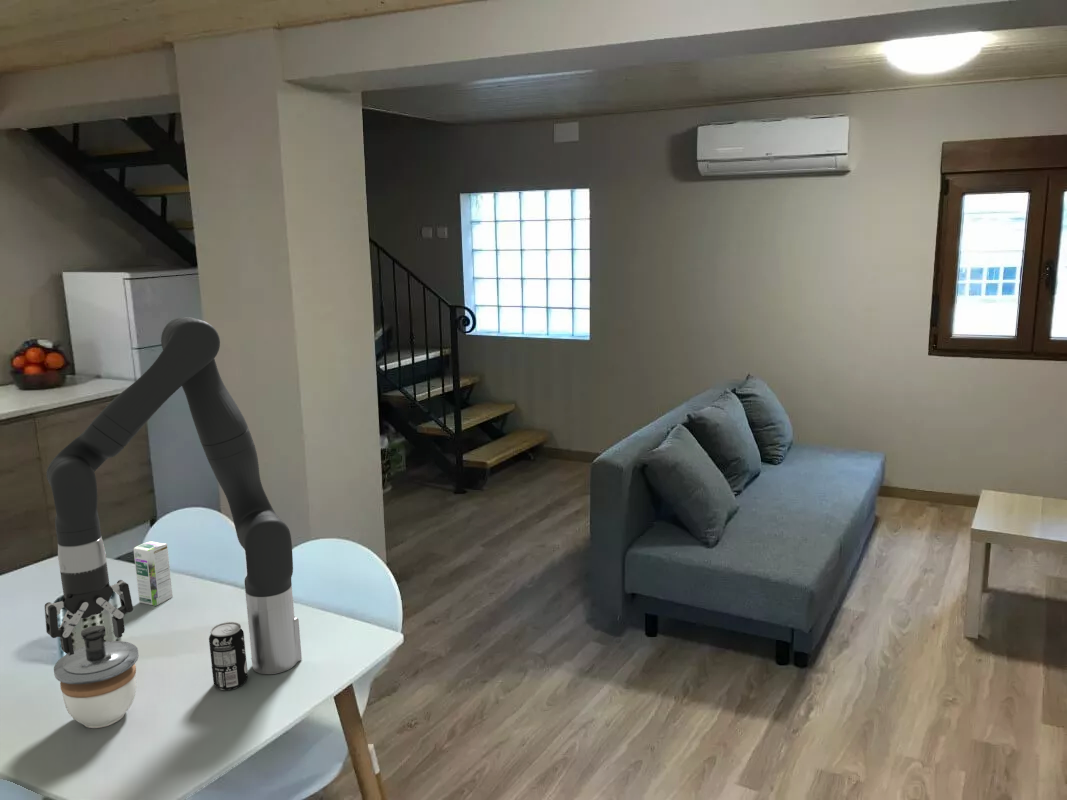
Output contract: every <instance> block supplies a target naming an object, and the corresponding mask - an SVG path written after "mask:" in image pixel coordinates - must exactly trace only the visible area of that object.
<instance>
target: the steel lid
mask: <svg viewBox="0 0 1067 800" xmlns="http://www.w3.org/2000/svg"><path fill="white" fill-rule="evenodd" d="M106 633H107V632H106V627H105V626H103V625H92V626H89V627H86V628H84V629H83V630H81V632H80V637H81V639H82V640H83V641H84V646H82V647H79V648H76V649H73V650H74V654H72V655H70V656H69V655H68V654H67V653H65V654H64V655H63V656H62V657H61V658H59V659H58V660H57V661H56V663H55V665H54V666H53V673H54V674H53V675H54V678H55V679H56V681H58V682H59V683H60V682H63V683H67V684H88V683H94V682H99V681H103V680H106V679H109V678H112V677H114V676H117V675H119V674H121V673H123V672H125V671H126V670H128V669H129V668H131V667H132V666H133V665H134V664H135V665H136V663H137V662H138V661H139V649H138V647H137V646H136V645H135V644H133V643H131V642H127V641H121V640H111V641H109V640H107V641H105V637H104V636H105V634H106Z"/></svg>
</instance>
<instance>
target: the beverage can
mask: <svg viewBox="0 0 1067 800" xmlns="http://www.w3.org/2000/svg"><path fill="white" fill-rule="evenodd" d="M208 643H209V651H210V652H209V653H210V660H211V672H212V680H213V685H214V686H215V687H216V688H218V689H219V690H221V691H232V690H235V689H238V688H241V687H242V686H243V685H244V684H245V683H246V681H247V680H248V679H249V677H248V676H249V675H248V664H247V654H246V644H245V643H246V642H245V632H244V630H243V629H242V625H241V624H240V623H238V622H234V621H227V622H221V623H219V624H216V625H215V626H213V627H211V629H210V635H209V637H208Z"/></svg>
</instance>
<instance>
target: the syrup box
mask: <svg viewBox="0 0 1067 800" xmlns="http://www.w3.org/2000/svg"><path fill="white" fill-rule="evenodd" d="M133 556H134V565H135V575H136V583H137V593H138V603H140V604H146V605H151V606H154V607H156V606H158V605H160V604H162V603H164V602H166V601H168V600H170V599H172V598H173V588H172V586H173V585H172V578H171V569H170V557H169V547H168V543H163V542H157V541H153V540H151V541H147V542H146V541H145V542H144V543H141V544H139V545H137V546H135V547H133Z"/></svg>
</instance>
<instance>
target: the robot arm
mask: <svg viewBox="0 0 1067 800" xmlns="http://www.w3.org/2000/svg"><path fill="white" fill-rule="evenodd" d="M160 342H161V343H160V345H161V348H162V350H161V352H160V354H159V355H158V357H157V358H156V359H155V361H154V362H153V363H152V364H151V366H149V368H148V369H147V370H146V371H145V372H144V373H143V374H142V375H141V376H140V377H139V378H138V379H136V380H135V381H134V382H133V383H132V384H131V385H130V386H128V387H127V388H125V389H124V390H123V391H122V392H120V393H119V394H118V395H116V396H115V397H114V398H113V399H112V400H111V401H110V402H109V403H108V404H107V405H106V406H105V407H104V408H103V409H102V411H100V413H99V414H98V415H97V416H96V418H94V419H93V421H91V423H90V424H89V425H88V426H87V428H86V429H85V430H84V431H83V432H82V433H81V434H80V435H78V436H77V437H76V438H74V439H73V440H72V441H71V442H70V443H68V445H66V446H65V447H64V448H63V449H61V450H60V452H58V454H57V455H56V456H55V457H54V458H53V459H52V460H51V461H50V463H49V464H48V467H47V469H46V479H47V481H48V484H49V486H50V487H51V492H52V497H53V503H54V507H55V508H54V509H55V513H56V514H55V518H54V520H55V521H54V524H55V525H54V526H55V527H54V528H55V533H56V541H57V559H58V565H59V566H58V567H59V573H60V579H61V585H62V586H61V587H62V594H63V597H62V600H61V601H57V602H53V603H52V602H46V603H44V616H45V629H46V630H45V631H46V634H48V635H49V636H50V637H51V638H52V639H56V638H59V640H60V647H61V650H62V651H63V653H65V654H68V655H69V656H70V655H72V654H74V650H75V649H74V644H73V638H72V635H71V633H72V631H73V630H74V628H75V627H76V626H77V625H78V623H79V622H80V620H81V619H83V620H84V619H87V618H90V617H91V616H95V615H99V614H102V612H103V611H104V610H105V611H107V612H108V613H110V614H111V615H113V616H111V622H112V623H111V624H112V629H113V634H114V637H116V638H117V639H119V638H122V637H123V634H125V630H126V629H125V621H124V620H125V619H124V616H126V614H128V613H132V612H133V610H134V608H133V607H134V606H133V601H132V596H131V591H130V586H129V583H127V582H125V580H123V579H119V580H117V582H116V583H114V584H110V580H109V579H110V578H109V571H108V563H107V553H106V548H105V545H104V540H103V538H102V537H103V536H102V530H101V523H100V517H99V511H98V484H97V477H96V473H95V472H96V471H97V470H98V469H99V468H100V467H101V466H102V465H103V464H104V463H105V462H106V461H107V460H108V459H109V458H115V456H117V455H119V453H121V452H122V451H123V450H124V448H125V447H126V446H127V445H128V444H129V443H130V441H131V440H133V438H134V437H135V436H136V435H137V434H138V433H139V431H141V429H142V428H143V427H144V426H145V425H146V423H147V422H148V421H149V420H150V419H151V418H152V417H153V416H154V414H155V413H156V412H157V411H158V410H159V409H160V408H161V407H162V406H163V405H164V403H165V402H167V401H168V399H169V398H171V397H172V395H174V393H176V392H177V390H179V389H180V388H182V389H183V392H184V394H185V397H186V400H187V404H188V407H189V412H190V414H191V417H192V420H193V423H194V426H195V429H196V432H197V435H198V439H199V441H200V443H201V446H202V447H201V448H202V449H203V451H204V454H205V457H206V459H207V461H208V463H209V466H210V468H211V470H212V472H213V474H214V476H215V478H216V480H217V482H218V484H219V486H220V488H221V490H222V491H223V493H224V495H225V497H226V500H227V503H228V506H229V509H230V513H231V516H232V520H233V523H234V524H233V525H234V528H235V533H236V538H237V540H238V542H239V545H240V546H241V547H242V548H243V549H244V554H245V564H246V577H245V578H244V589H245V590H244V591H245V602H246V613H247V620H248V631H249V632H248V633H249V634H248V635H249V643H250V645H249V646H250V654H251V655H250V656H251V658H250V659H251V664H252V665H251V666H252V669H253V671H254V672H255V673H257V674H261V675H274V674H275V675H276V674H279V673H284V672H286V671H288V670H291V669H292V668H293V667H294V666H296V665H297V664H298V662H300V661H301V660H302V659H303V657H302V645H301V634H300V631H301V630H300V620H299V618H298V617H296V616H295V609H294V608H295V607H294V597H293V586H292V585H293V584H292V577H293V573H294V561H293V543H292V534H291V531H290V529H289V527H288V526H287V524H286V523H285V522H284V520H282V518H280V517H279V516H278V515H277V513H276V511H275V510H274V508H273V506H272V505H271V503H270V501H269V498H268V496H267V494H266V492H265V490H264V486H263V485H262V484H263V483H262V480H261V476H260V467H259V465H260V464H259V458H258V453H257V448H256V446H255V443H254V439H253V437H252V435H251V431H250V428H249V426H248V424H247V421H246V420H245V417H244V415H243V414H242V412H241V410H240V408H239V406H238V405H237V403H236V401H235V400H234V398H233V396H232V395H231V394H230V391H228V389H227V387H226V386H225V384H224V382H223V379H222V378H221V375H220V372H219V369H218V366H217V362H216V359H215V358H216V357H217V355H218V354H219V351H220V347H221V339H220V336H219V333H218V331H217V330H216V328H215V327H214V326H213V325H212V324H210V323H209V322H207V321H204V320H203V319H198V318H195V317H190V316H187V317H186V316H180V317H176V318H174V319H172V320H170V321H168V323H167V324H166V325H165V327H164V328H163V330H162V333H161V335H160ZM114 593H115V594H116V595H118V597H119V601H120V606H119V607H118V608H117V607H115V606H114V605H112V604H111V603H110V602H109V601H110V599H111V597H112V596H113V594H114ZM63 608H64V609H65V610H67V611H66V612H65V614H64V615H63V618H62V619H63V621H62V622H61V623H60V626H59V623H58V615H60V614H61V611H62V609H63Z"/></svg>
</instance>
